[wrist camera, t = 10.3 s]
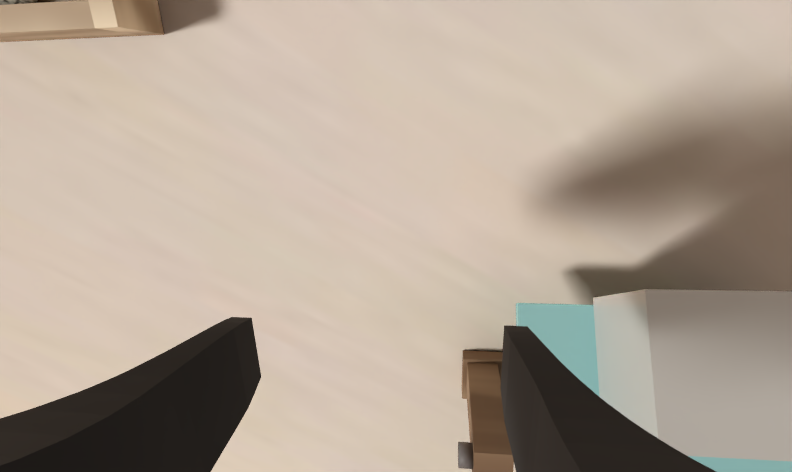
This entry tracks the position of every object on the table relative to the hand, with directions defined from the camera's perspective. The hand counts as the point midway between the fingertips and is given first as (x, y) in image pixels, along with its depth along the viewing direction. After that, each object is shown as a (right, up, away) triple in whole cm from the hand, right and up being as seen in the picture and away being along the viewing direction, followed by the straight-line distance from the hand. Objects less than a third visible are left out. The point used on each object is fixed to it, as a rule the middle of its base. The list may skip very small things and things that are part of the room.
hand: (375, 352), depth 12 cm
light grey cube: (+11, -1, +4) cm, 12 cm away
